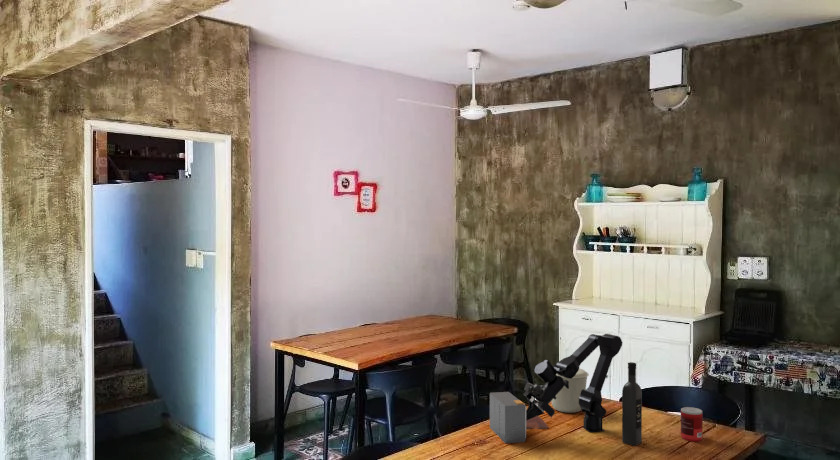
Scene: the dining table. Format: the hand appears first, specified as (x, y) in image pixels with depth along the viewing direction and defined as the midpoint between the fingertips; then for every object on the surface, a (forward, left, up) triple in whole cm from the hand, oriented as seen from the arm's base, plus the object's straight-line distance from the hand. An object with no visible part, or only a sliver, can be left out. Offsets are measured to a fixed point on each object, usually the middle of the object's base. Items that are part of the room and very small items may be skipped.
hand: (524, 419), depth 238 cm
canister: (-33, -33, -7) cm, 47 cm away
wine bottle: (-38, +12, -7) cm, 41 cm away
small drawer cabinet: (+5, -6, -7) cm, 11 cm away
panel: (+4, 0, -6) cm, 7 cm away
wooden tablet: (-11, -23, -8) cm, 27 cm away
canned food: (-63, +12, -7) cm, 65 cm away
